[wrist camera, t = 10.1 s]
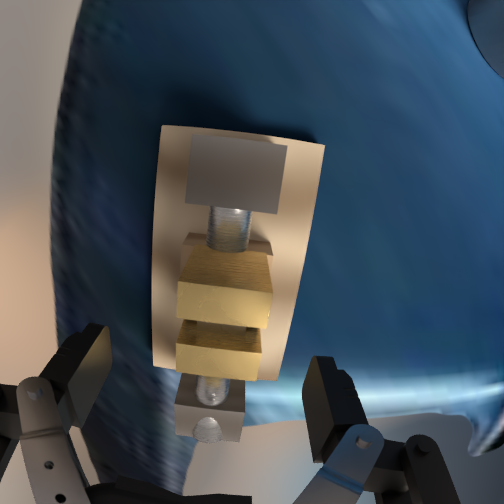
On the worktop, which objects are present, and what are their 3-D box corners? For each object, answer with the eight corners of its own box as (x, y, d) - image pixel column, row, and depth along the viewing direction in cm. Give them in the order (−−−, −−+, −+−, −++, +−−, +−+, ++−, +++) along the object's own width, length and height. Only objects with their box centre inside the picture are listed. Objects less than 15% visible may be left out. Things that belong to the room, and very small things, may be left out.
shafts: (219, 137, 14) (211, 135, 11) (261, 142, 15) (266, 141, 11) (196, 406, 20) (190, 446, 17) (225, 410, 20) (222, 450, 17)
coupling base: (167, 126, 19) (118, 117, 11) (319, 144, 20) (364, 147, 12) (157, 354, 25) (130, 429, 17) (275, 369, 26) (284, 448, 18)
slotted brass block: (254, 327, 20) (256, 381, 15) (190, 320, 19) (175, 371, 15) (266, 252, 18) (273, 292, 13) (195, 243, 18) (177, 281, 13)
